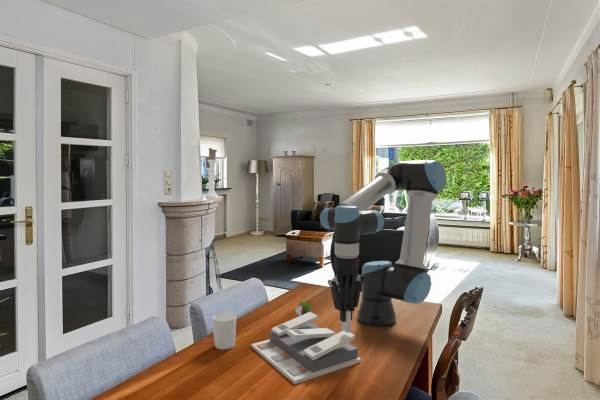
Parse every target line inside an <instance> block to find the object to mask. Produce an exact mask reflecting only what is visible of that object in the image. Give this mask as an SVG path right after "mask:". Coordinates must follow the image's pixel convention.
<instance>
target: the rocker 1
mask: <svg viewBox="0 0 600 400" xmlns="http://www.w3.org/2000/svg"><path fill="white" fill-rule="evenodd" d="M317 320H319V316H318V315H317V314H315V313H313V312H312V311H309V312H308V313H306V314H304V315H301V316H299V317H298V316H297V317H295V318H293V319H290V320H287V321H285V322H283V323H281V324H279V325H276V326H274V327H272V328H271V332H274V333H275V334H276V335H278V336H279V337H280V336H282V335H284V334H286V333H287V330H295V329H297V328H300V327H302V326H304V325H306V324H308V323H311V322H312V323H314V322H315V321H317Z"/></svg>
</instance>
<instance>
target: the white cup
mask: <svg viewBox="0 0 600 400" xmlns="http://www.w3.org/2000/svg"><path fill="white" fill-rule="evenodd" d="M212 327H213V329H212V330H213V339H214V348H216V349H217V350H223V351H224V350H229V349H232V348H234V347H235V346H236V334H237V315H236V314H235V313H232V312H221V313H217V314H215V315H213V316H212Z"/></svg>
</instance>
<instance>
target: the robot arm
mask: <svg viewBox="0 0 600 400" xmlns="http://www.w3.org/2000/svg"><path fill="white" fill-rule="evenodd" d="M446 185H447V174H446V170H445V167H444V166H443V163H441V162H440V161H439V160H436V159H435V160H432V159H423V160H402V161H397V162H395V163H393V164H391V165H389V166H387V167H386V168H384V169H382V170H380V171H379V172H378V173H376V175H375V176H374V179H373V180H371V181H370V182H369V183H367V184H365V185H364V186H363V187H362V188H360V189H359V190H357V191H356V192H354V193H353V194H352V195H351V196H349V197H348V198H346V199H345V200H344V201H342V202H341V203H340V204H338V205H337V206H335V207H326V208H324V209H323V210H322V211H321V212H320V215H319V220H320V225H321V226H322V227H323V228H324V229H328V230H331V231H334V255H335V256H334V264H333V265H334V267H333V268H334V269H335V271H334V274H333V276H334V277H333V278H332V279H328V280H327V284H328V285H329V288H330V291H331V295H332V297H331V298H332V301H333V308H334V309H335V310H337V311H339V319H340V322H341V331H345V332H346V333H348V332H350V333H352V332H351V330H352V329H351V327H352V320H353V312H354V311H355V310H356V309H355V308H358V306H359V309H358V310H357V316H356V317H357V320H358V321H359V323H362V324H364V325H367V326H374V327H385V326H387V327H388V326H392V325H393V324H395V323H396V321H397V315H396V311H395V308H394V305H393V302H392V301H393V300H392V299H394V300H398V301H402V302H405V303H408V304H410V303H411V304H415V305H418V304H421V303H422V302H424V301H425V300H426V299H427V298H428V295H429V293H430V292H431V287H432V278H431V275H430V274H428V272H427V271H428V270H427V269H428V268H427V267H426V265H425V263H424V262H425V261H424V260H425V254H426V246H427V241H428V240H427V239H428V234H429V229H430V228H429V227H430V221H431V213H432V206H433V201H434V200H436V199H437V198H438V195H439V192H442V191H444V189H445V188H446ZM396 191H406V192H405V193H406V195H407V196H408V198H409V199H408V204H407V211H406V218H405V222H404V223H405V224H404V230H403V236H402V242H401V248H400V256H399V258H398V260H397V261H395V262H394V266H393V262H391V261H389V260H377V261H376V260H374V261H369V262H365V263H363V265H362V268H361V274H360V273H359V268H360V257H359V255H360V236H362V235H363V236H364V235H370V234H372V235H373V234H375V233H378V232H380V231H381V230H382V229H383V228H384V225H385V219H384V216H383V214H382V213H381V212H380V211H378V210H375V209H370V208H371V207H372V206H374V205H375V204H376V203H377V202H378V201H379V200H381V199H383V198H384V197H385V196H387V195H391V194H393V193H394V192H396ZM360 296H361V302H360V305H359V301H360Z"/></svg>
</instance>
